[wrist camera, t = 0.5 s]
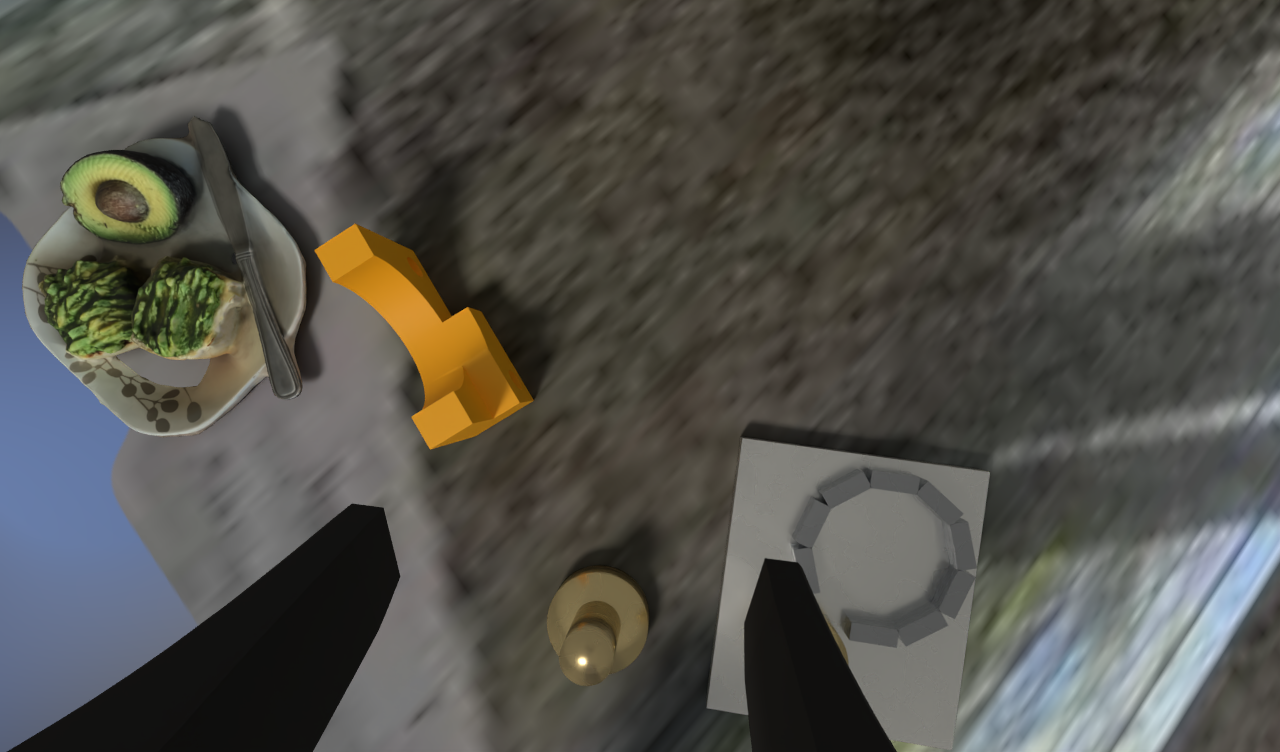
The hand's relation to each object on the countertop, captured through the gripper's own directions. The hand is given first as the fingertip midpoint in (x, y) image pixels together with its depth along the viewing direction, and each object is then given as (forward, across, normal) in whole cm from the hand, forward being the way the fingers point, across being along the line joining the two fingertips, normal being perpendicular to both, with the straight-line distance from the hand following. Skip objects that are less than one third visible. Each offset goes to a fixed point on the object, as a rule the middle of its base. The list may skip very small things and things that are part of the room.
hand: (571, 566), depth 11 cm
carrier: (+15, -14, +19) cm, 27 cm away
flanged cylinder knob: (+14, 0, +22) cm, 26 cm away
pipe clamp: (+23, +12, +9) cm, 27 cm away
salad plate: (+24, +30, +9) cm, 40 cm away
